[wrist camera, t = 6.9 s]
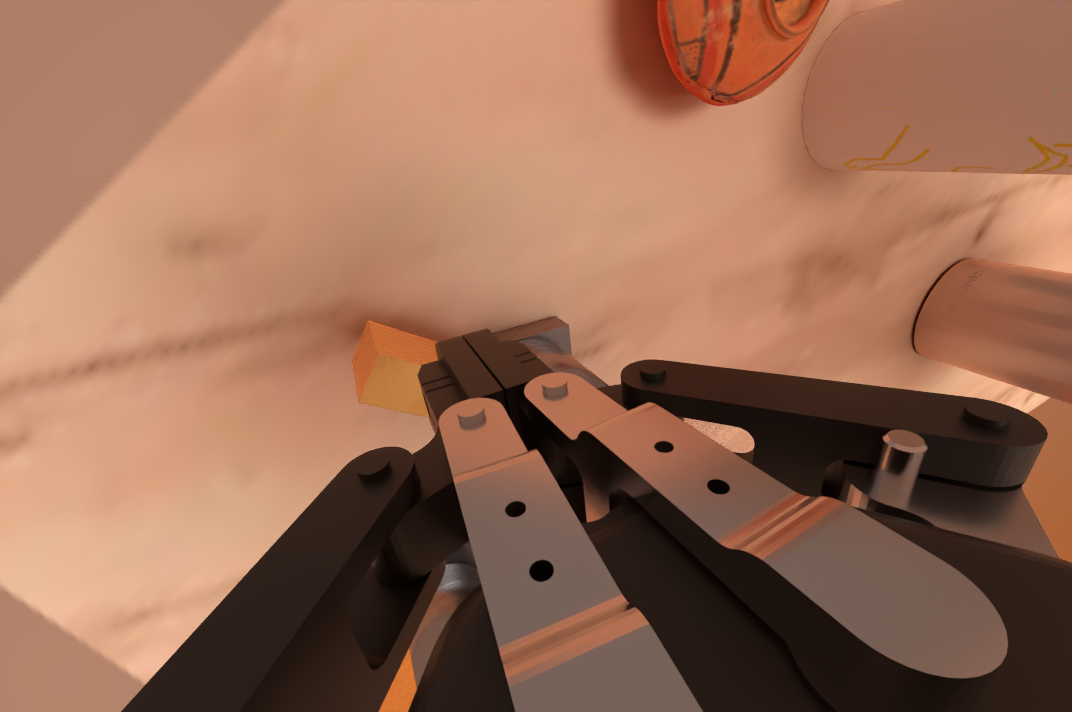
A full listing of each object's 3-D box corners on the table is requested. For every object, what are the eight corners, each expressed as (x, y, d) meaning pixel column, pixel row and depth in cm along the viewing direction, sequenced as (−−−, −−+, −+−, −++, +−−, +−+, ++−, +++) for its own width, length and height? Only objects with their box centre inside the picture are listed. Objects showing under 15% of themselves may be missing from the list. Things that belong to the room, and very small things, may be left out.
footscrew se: (584, 353, 23) (644, 397, 19) (546, 431, 24) (594, 490, 20) (378, 278, 18) (397, 316, 13) (338, 384, 18) (344, 451, 14)
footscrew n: (448, 550, 24) (475, 633, 20) (499, 580, 27) (533, 659, 23) (299, 693, 24) (295, 809, 20) (366, 710, 27) (376, 815, 22)
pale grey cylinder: (791, 175, 27) (1073, 186, 17) (818, 9, 23) (1197, -104, 13) (878, 163, 29) (1165, 165, 19) (914, 12, 26) (1288, -79, 16)
